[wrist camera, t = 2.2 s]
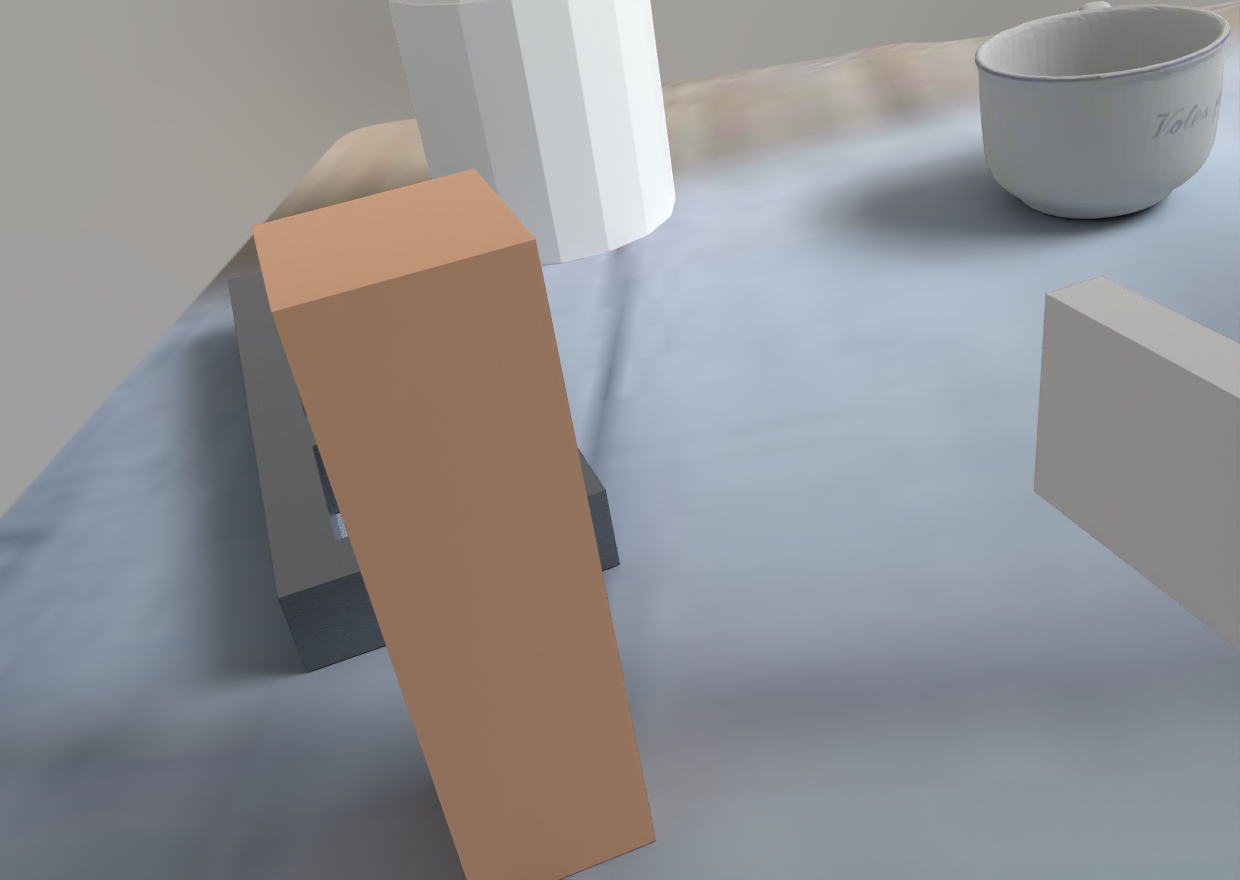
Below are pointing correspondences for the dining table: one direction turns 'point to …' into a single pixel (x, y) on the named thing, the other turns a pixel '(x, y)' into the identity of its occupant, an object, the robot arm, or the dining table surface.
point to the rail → (320, 499)
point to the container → (545, 112)
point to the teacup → (1101, 105)
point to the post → (466, 513)
